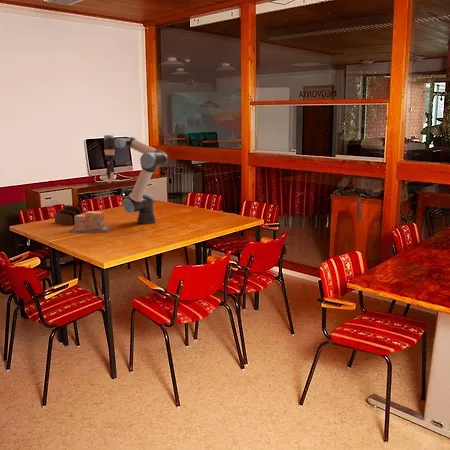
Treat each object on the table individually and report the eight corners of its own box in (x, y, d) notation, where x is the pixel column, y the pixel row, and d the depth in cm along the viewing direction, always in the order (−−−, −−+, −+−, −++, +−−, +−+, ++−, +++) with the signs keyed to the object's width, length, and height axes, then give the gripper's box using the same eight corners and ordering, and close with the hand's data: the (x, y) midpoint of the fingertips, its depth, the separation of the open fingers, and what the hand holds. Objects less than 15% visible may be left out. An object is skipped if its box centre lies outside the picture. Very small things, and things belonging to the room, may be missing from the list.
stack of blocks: (74, 228, 370) (73, 212, 368) (78, 226, 376) (77, 210, 374) (101, 229, 366) (100, 213, 363) (104, 227, 372) (103, 211, 369)
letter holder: (64, 221, 404) (63, 204, 401) (81, 223, 395) (80, 206, 391) (54, 223, 396) (53, 206, 393) (72, 226, 386) (71, 208, 383)
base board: (110, 228, 379) (110, 225, 378) (107, 232, 366) (107, 229, 366) (74, 228, 377) (74, 226, 377) (70, 232, 365) (70, 230, 364)
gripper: (107, 153, 405) (109, 179, 409) (101, 156, 380) (103, 183, 385) (116, 153, 405) (118, 179, 410) (111, 156, 381) (113, 183, 385)
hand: (111, 181), depth 397 cm, fingers open, 13 cm apart
